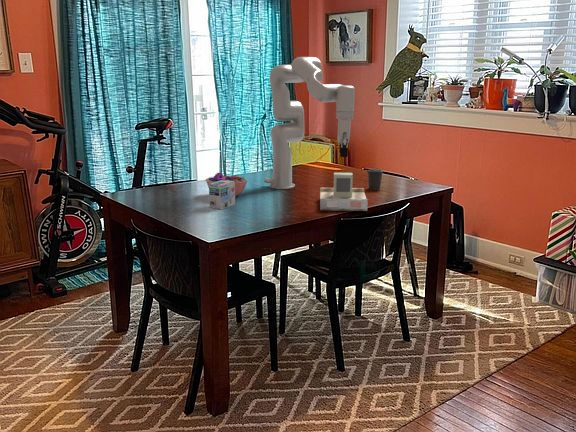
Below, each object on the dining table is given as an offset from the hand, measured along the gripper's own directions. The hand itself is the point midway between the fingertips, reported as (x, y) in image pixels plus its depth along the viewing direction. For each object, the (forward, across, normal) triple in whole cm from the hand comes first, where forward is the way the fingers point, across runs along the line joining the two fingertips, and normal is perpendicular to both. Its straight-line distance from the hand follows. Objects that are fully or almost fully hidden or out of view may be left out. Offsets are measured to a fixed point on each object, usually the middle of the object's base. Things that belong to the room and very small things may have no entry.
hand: (343, 154), depth 251 cm
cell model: (+23, -12, -54) cm, 60 cm away
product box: (+18, 0, 0) cm, 18 cm away
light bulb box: (+23, +6, -52) cm, 58 cm away
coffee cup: (+23, -32, +18) cm, 43 cm away
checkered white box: (+22, +1, 0) cm, 22 cm away
